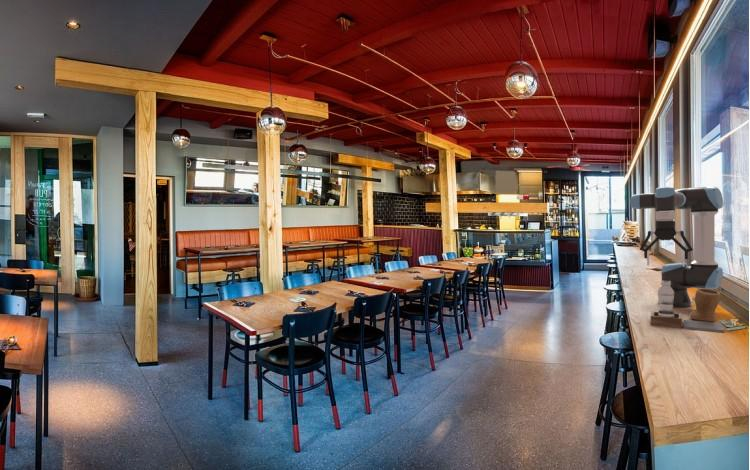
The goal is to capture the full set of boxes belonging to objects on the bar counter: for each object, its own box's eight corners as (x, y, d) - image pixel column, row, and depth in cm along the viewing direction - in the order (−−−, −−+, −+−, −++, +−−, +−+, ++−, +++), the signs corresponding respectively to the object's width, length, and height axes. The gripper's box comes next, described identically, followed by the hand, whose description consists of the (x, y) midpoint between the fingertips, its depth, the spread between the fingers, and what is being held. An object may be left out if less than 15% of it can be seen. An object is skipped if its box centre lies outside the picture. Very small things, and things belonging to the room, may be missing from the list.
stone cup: (719, 324, 191) (719, 292, 191) (687, 321, 200) (687, 289, 199) (722, 318, 202) (722, 287, 202) (691, 315, 211) (691, 285, 210)
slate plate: (683, 321, 199) (683, 319, 199) (721, 325, 190) (721, 323, 190) (683, 328, 187) (683, 326, 187) (724, 332, 179) (724, 330, 179)
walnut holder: (651, 319, 205) (651, 311, 205) (681, 322, 198) (681, 313, 198) (650, 324, 195) (650, 316, 195) (682, 327, 188) (682, 318, 188)
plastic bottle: (678, 324, 193) (678, 281, 193) (663, 325, 194) (663, 282, 193) (669, 321, 200) (668, 279, 199) (654, 321, 200) (654, 280, 199)
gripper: (633, 221, 199) (633, 265, 200) (699, 219, 185) (699, 267, 185) (634, 221, 205) (634, 264, 206) (698, 219, 191) (699, 266, 191)
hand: (665, 265), depth 196 cm, fingers open, 13 cm apart
